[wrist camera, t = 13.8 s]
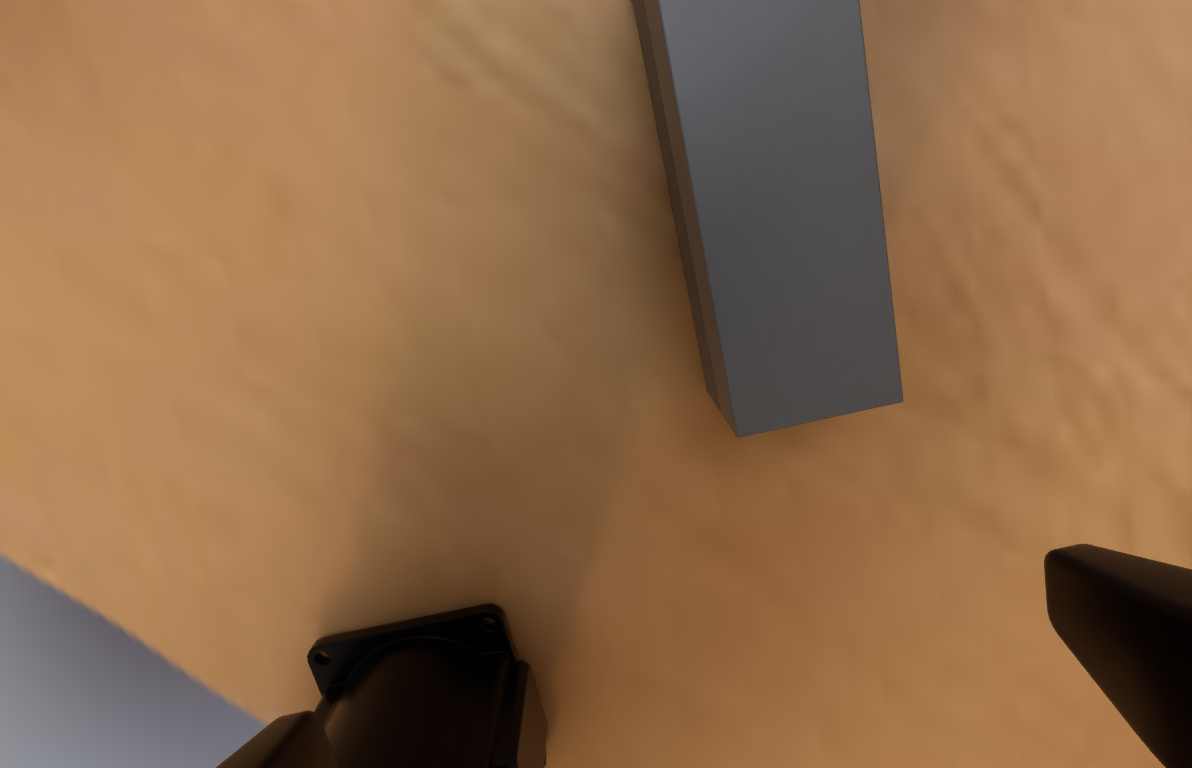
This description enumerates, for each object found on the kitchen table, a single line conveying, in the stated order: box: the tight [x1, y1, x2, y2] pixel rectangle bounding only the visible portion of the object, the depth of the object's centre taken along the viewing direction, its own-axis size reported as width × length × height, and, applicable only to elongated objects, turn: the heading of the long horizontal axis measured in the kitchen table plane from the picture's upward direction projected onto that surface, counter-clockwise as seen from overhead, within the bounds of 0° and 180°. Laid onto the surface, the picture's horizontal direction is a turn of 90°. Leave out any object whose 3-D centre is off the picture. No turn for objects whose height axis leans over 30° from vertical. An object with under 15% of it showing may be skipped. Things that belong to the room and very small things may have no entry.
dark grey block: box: [631, 0, 903, 437], centre depth 16 cm, size 4×11×4 cm, turn 13°
